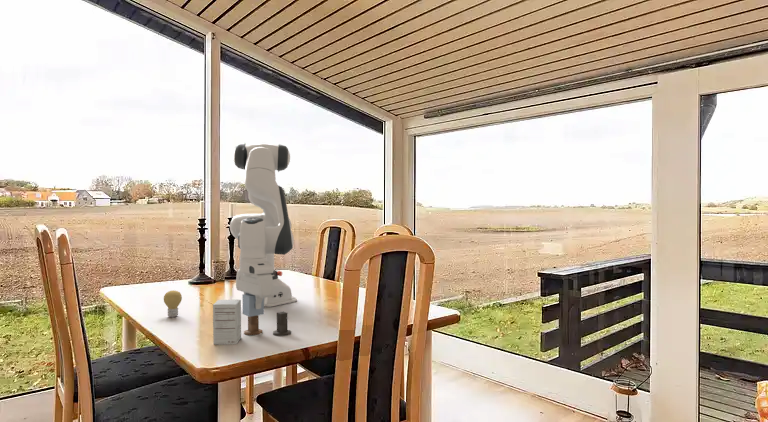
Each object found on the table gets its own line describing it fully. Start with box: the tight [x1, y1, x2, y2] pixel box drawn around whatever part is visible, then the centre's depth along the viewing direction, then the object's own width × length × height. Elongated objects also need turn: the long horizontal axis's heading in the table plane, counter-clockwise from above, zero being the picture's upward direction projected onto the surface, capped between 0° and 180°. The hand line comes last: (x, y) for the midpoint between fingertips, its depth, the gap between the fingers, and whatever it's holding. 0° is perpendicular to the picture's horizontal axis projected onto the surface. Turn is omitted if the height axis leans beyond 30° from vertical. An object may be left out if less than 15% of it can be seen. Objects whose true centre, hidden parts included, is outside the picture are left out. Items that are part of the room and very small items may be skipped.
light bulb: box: [163, 289, 183, 318], centre depth 189 cm, size 6×6×10 cm
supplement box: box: [212, 299, 242, 345], centre depth 156 cm, size 7×7×13 cm
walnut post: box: [243, 315, 263, 336], centre depth 166 cm, size 6×6×7 cm
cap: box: [241, 293, 265, 317], centre depth 165 cm, size 5×5×7 cm
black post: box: [272, 311, 292, 337], centre depth 165 cm, size 6×6×7 cm
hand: (253, 307), depth 165 cm, fingers closed on cap, 5 cm apart
